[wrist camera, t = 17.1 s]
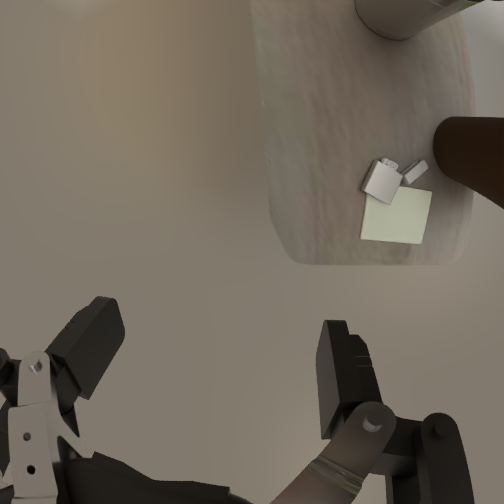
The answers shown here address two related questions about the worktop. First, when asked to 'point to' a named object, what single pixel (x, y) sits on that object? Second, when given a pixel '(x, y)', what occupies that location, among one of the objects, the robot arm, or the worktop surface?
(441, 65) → the worktop surface
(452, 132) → the olive oil
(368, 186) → the lighter
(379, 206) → the mat
